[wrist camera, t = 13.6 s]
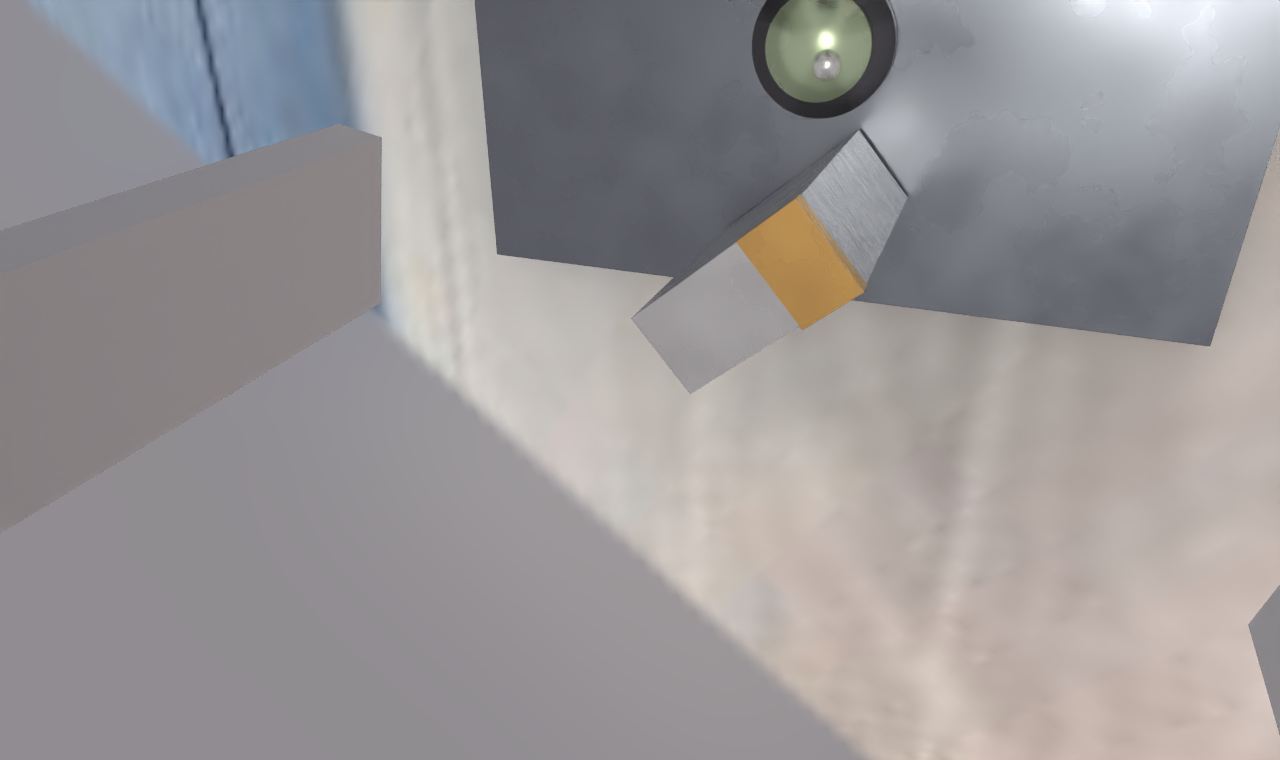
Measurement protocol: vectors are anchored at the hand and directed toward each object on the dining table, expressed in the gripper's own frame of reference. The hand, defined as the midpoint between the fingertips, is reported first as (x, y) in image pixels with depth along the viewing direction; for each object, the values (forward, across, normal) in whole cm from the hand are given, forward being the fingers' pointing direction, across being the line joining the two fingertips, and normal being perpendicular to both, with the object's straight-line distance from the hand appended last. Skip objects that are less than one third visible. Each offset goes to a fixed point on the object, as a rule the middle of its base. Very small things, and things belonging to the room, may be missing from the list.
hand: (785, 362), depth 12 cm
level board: (+25, -4, 0) cm, 26 cm away
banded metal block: (+24, -3, -6) cm, 25 cm away
